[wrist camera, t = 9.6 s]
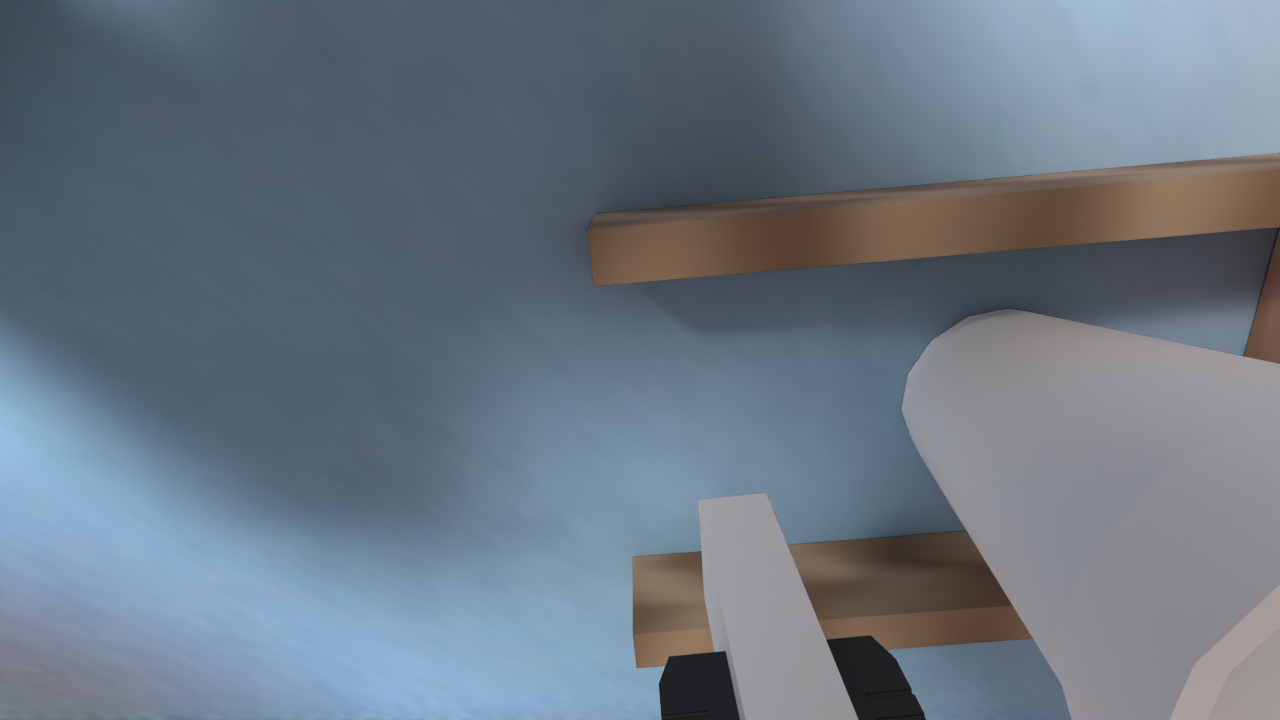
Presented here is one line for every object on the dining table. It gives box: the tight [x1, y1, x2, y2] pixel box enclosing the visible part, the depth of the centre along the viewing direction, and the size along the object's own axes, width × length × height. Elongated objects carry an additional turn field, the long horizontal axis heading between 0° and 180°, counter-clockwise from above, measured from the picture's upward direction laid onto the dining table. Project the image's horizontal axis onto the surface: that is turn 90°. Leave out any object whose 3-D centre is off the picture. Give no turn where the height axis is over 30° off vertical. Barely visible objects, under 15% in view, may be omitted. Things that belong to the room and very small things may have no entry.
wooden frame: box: [587, 153, 1280, 668], centre depth 19 cm, size 24×15×5 cm, turn 95°
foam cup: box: [901, 308, 1280, 720], centre depth 15 cm, size 10×9×13 cm
